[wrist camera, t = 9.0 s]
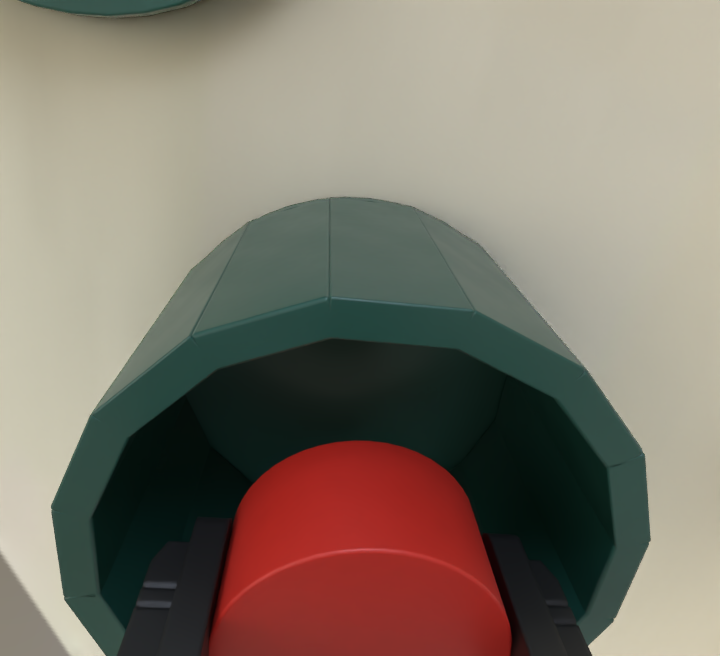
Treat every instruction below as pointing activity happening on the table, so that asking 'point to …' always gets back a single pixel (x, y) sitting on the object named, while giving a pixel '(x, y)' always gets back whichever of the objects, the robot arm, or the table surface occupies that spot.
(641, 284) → the table surface
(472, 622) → the cylinder
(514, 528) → the tin
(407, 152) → the table surface
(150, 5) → the lid
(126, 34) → the table surface
